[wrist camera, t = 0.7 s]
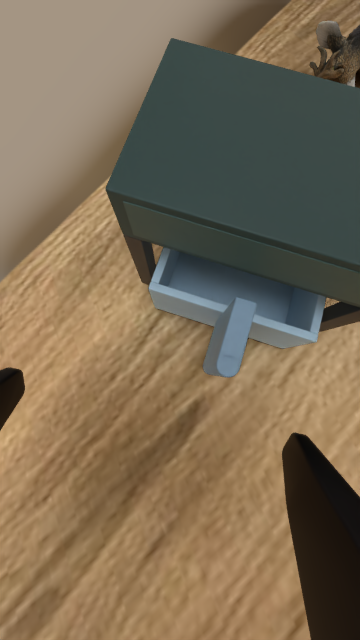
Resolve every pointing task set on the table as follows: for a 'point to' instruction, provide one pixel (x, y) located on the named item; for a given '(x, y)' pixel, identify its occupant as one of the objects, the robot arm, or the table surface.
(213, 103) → the cabinet
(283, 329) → the drawer
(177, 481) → the table surface
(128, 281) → the table surface
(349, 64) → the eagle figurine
